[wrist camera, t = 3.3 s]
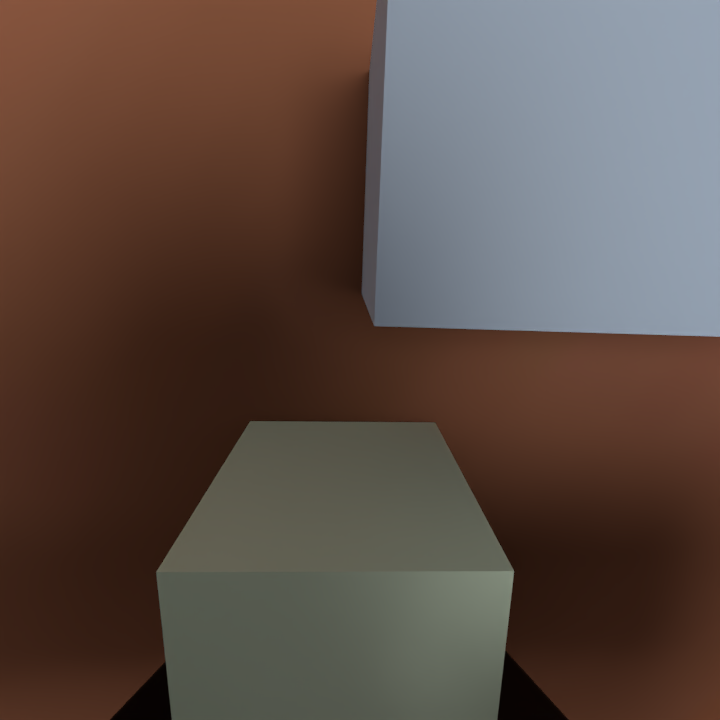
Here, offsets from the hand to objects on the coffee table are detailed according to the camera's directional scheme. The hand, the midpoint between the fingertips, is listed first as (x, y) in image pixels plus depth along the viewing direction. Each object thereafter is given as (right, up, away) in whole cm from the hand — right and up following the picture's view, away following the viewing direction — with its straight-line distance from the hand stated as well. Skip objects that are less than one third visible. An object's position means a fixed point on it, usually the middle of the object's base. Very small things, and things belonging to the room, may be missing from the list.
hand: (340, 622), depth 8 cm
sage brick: (0, 0, +1) cm, 1 cm away
